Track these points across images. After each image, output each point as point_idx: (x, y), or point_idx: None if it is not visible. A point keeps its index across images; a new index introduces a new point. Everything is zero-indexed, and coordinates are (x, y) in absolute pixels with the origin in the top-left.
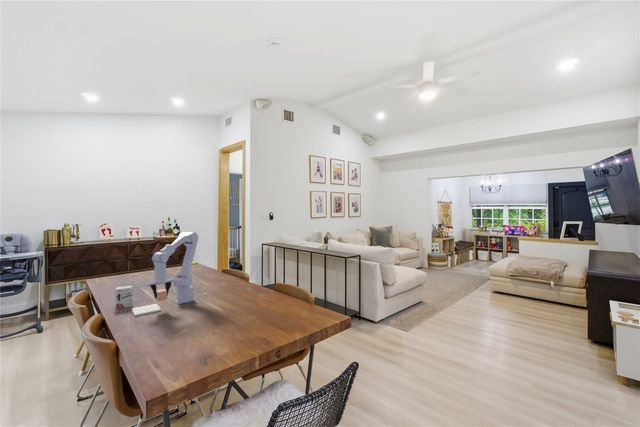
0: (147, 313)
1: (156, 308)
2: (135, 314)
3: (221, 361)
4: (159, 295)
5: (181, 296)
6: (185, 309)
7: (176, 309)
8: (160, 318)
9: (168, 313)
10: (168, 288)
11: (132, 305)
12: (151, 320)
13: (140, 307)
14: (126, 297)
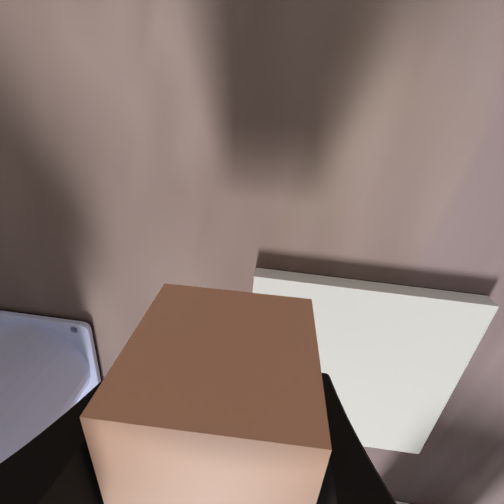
0: (376, 284)
1: None
2: (489, 308)
3: None
4: (276, 367)
5: (15, 376)
6: (36, 124)
7: (123, 201)
8: (348, 4)
9: (218, 133)
10: (4, 484)
11: None
12: (458, 15)
13: (363, 431)
14: None
